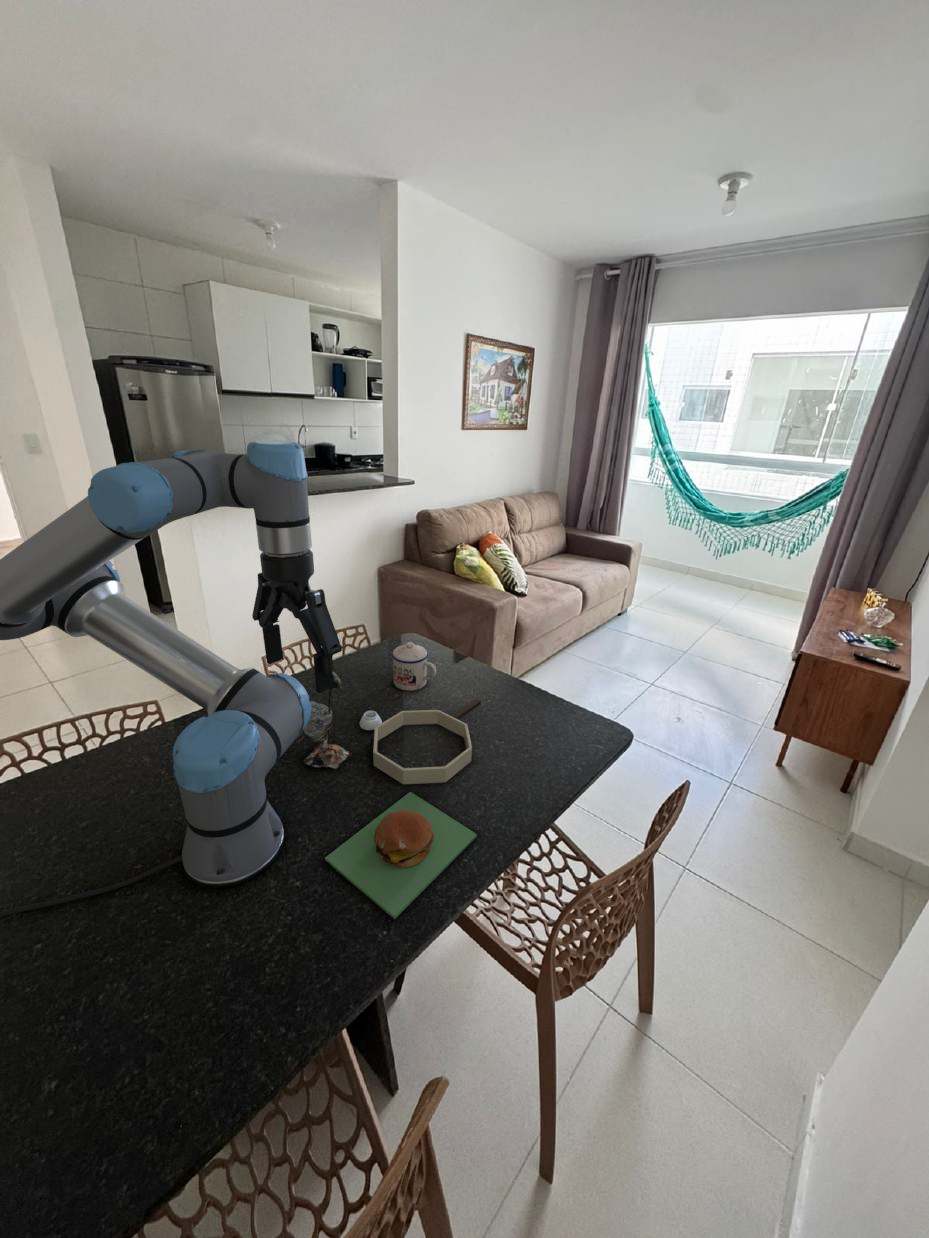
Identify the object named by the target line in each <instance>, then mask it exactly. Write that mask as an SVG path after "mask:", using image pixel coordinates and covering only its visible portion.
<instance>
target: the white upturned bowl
mask: <svg viewBox="0 0 929 1238" xmlns="http://www.w3.org/2000/svg"><path fill="white" fill-rule="evenodd" d="M381 723H383V720H382V719H381V717H380V715H379V714H378V712H377V711H375V710H366V711H365V712H364V713H363V715H362V717H361V719H360V720H359V727H360V728H361V729H362V730H365V731H375V727H376V726H378V725H380V724H381Z"/></svg>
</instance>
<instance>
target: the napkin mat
mask: <svg viewBox="0 0 929 1238" xmlns="http://www.w3.org/2000/svg"><path fill="white" fill-rule="evenodd" d="M398 810H410V811H414V812H417V813H419V814H421V815H423V816H424V817H425V818H426V819H427V820H428V821H429V823H430V825H431V829H432V831H433V835H434V839H433V840H434V841H433V843H432V847H431V849H430V852H429V854H428V855H427V856H426V858H425V859H424V860H423V861H422V862H420V863H419V864H418V865H416V866H413V867H410V868H401V867H399V866H398V865H395V864H389V863H386V862H384V861H383V860H382V857H381V854H380V853H377V852H376V844H375V842H374V835H375V831H376V828H377V827H378V825H379V823H380V822H381V820H382V819H383V818H384V817H385V816H386V815H388V814H389V813H391V812H394V811H398ZM477 837H478V835H477V833H476V832H474V831H473V830H471V829H470V828H468V827H466V826H465V825H463V824H462V823H460V822H458V821H457V820H455V819H454V818H452V817H451V816H449V815H448V814H446V813H445V812H443V811H442V810H440V809H438V808H437V807H435V806H434V805H432V804H431V803H429V802H428V801H426V800H424V799H423V798H422V797H420V796H418V795H417V794H415V793H414V792H412V791H409V792H408V793H406V794H405V795H404V796H403V797H401V798H400V799H399V800H398V801H396V802H394V803H393V804H392V805H391V806H389V807H388V808H387V809H386V810H384V811H383V812H381V813H380V814H378V816H377V817H375V818H374V819H373V820H371V821H370V822H369V823H368V824H366V825H365V826H364V827H362V828H361V829H360V830H359V831H357V832H356V833H355V834H353V835H352V836H351V837H350V838H348V839H346V840H345V841H344V842H343V843H342V844H340V845H339V846H338V847H337V848H336V849H334V850H333V851H331V852H330V853H329V854H327V856H325V857H324V861H325V862H326V863H328V864H329V865H330V866H331V867H332V868H333V869H335V870H336V871H337V872H338V873H339V874H340V875H342V876H343V877H344V878H345V879H346V880H347V881H349V882H350V883H351V884H352V885H354V887H356V888H357V889H358V890H359V891H361V892H362V894H364V895H365V897H367V898H369V899H370V900H371V901H372V902H374V904H376V906H378V907H379V908H380V909H381V910H383V911H384V912H385V913H386V914H387V915H389V916H390V917H391V918H392V919H394V920H396V919H397V918H398V917H399V916H400V915H401V914H402V913H403V912H404V911H405V910H406V909H407V908H408V907H409V906H410V905H411V904H412V903H413V902H414V901H415V900H416V899H417V898H418V897H419V896H420V895H421V894H422V893H423V892H424V891H425V890H426V889H427V888H428V887H429V885H431V884H432V883H433V882H434V880H435V879H436V878H438V876H440V875H441V873H443V872H444V871H445V870H446V868H448V867H449V866H450V864H452V863H453V862H454V860H456V858H457V857H458V856H460V855H461V854H462V853H463V852H464V851H465V849H466V848H468V846H469V845H470V844H472V842H473V841H475V839H477Z"/></svg>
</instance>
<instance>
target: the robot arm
mask: <svg viewBox="0 0 929 1238" xmlns="http://www.w3.org/2000/svg"><path fill="white" fill-rule="evenodd" d="M245 453H246V454H245ZM245 453H242V454H241V453H228V452H218V451H207V450H204V449H195V450H179V451H176V452H174V454H172V456H171V457H168V458H159V459H152V460H151V459H150V460H144V461H143V460H142V461H137V462H136V461H135V462H134V461H130V462H122V463H119V464H116V465H114V466H110V467H107V468H103V469H101V470H99V471H98V472H96V473H95V474H94V475H93V476H92V477H91V478H90V485H89V487H88V489H87V496H86V497H84V498H83V499H81V500H80V501H79V502H77V503H76V504H74V505H73V506H72V507H71V508H69V509H67V510H66V511H64V512H63V513H61V515H59V516H58V517H56V518H55V519H54V520H53V521H51V522H50V523H48V524H47V525H45V526H44V527H42V528H41V529H40V530H39V531H37V532H36V533H35V534H33V535H32V536H30V537H29V538H27V539H26V540H24V541H23V542H21V544H19V545H17V546H16V547H15V548H13V550H11V551H10V552H8V553H7V554H5V555H4V556H3V557H2V558H0V641H11V640H16V639H21V638H24V637H28V636H30V635H33V634H35V633H39V632H40V631H42V630H45V629H47V628H51V627H56V628H58V629H59V630H61V631H62V632H63V633H65V634H67V635H68V636H70V637H73V638H81V637H87V636H89V637H90V638H92V639H93V640H95V641H96V642H98V643H100V644H101V645H102V646H105V647H106V648H107V649H109V650H111V651H112V652H114V653H116V654H117V655H119V656H120V657H122V658H123V659H125V660H127V661H128V662H130V663H131V664H132V665H135V666H136V667H138V668H139V669H141V670H142V671H144V672H146V673H147V674H148V675H150V676H152V677H153V678H155V679H157V680H158V681H160V682H162V683H163V684H165V685H166V686H168V687H169V688H171V689H172V690H174V691H175V692H177V693H179V694H180V695H182V696H183V697H185V698H187V699H188V700H189V701H191V702H193V703H195V704H196V705H198V706H199V707H201V708H202V709H204V710H206V712H207V716H201V717H199V718H197V719H195V720H194V721H193V722H191V723H190V724H188V725H187V726H185V728H184V729H183V730H182V731H181V732H180V733H179V735H178V736H177V738H176V740H175V742H174V744H173V748H172V759H173V760H172V761H173V765H172V766H173V775H174V778H175V780H176V783H177V787H178V791H179V794H180V795H179V796H180V799H181V803H182V806H183V811H184V814H185V819H186V822H187V826H186V831H185V835H184V841H183V845H182V850H181V855H180V856H177V857H175V858H172V859H170V860H168V861H166V862H164V863H161V864H159V865H157V866H155V867H152V868H151V869H148V870H146V871H145V872H142V873H141V874H138V875H135V876H133V877H130V878H128V879H125V880H123V881H119V882H116V883H113V884H111V885H107V886H104V887H100V888H96V889H92V890H88V891H84V892H81V893H76V894H73V895H68V896H65V897H60V898H59V897H58V898H56V899H51V900H46V901H40V902H36V903H31V904H26V905H22V906H16V907H13V908H9V909H5V910H1V911H0V918H5V917H8V916H12V915H15V914H20V913H24V912H28V911H29V912H30V911H33V910H39V909H44V908H49V907H53V906H59V905H63V904H66V903H70V902H75V901H78V900H83V899H87V898H91V897H94V896H98V895H101V894H105V893H108V892H111V891H114V890H115V891H116V890H117V889H118V890H119V889H121V888H124V887H127V886H130V885H132V884H135V883H137V882H139V881H142V880H144V879H146V878H148V877H150V876H152V875H154V874H156V873H158V872H161V871H163V870H165V869H168V868H169V867H171V866H174V865H176V864H178V863H181V862H182V866H183V870H184V874H185V875H186V876H187V878H188V879H189V880H190V881H191V882H192V883H194V884H196V885H197V886H200V887H202V888H206V889H226V888H232V887H236V886H239V885H242V884H244V883H247V882H249V881H252V880H254V879H255V878H256V877H258V876H259V875H261V874H262V873H264V872H265V871H266V870H268V869H269V868H270V867H271V866H272V865H273V864H274V862H275V861H276V860H277V858H279V856H280V854H281V852H282V849H283V846H284V842H285V832H284V826H283V823H282V820H281V818H280V817H279V815H278V813H277V812H276V811H275V809H274V807H273V806H272V805H271V803H270V801H269V800H268V796H267V789H266V782H265V779H266V777H267V774H269V772H270V771H271V770H272V769H273V767H274V766H275V765H276V764H277V762H278V761H279V760H280V758H281V757H282V756H283V755H284V754H285V752H286V751H287V750H288V749H289V748H290V746H292V745H293V743H294V742H295V741H296V740H297V739H298V738H299V737H300V736H301V735H302V731H303V729H304V727H305V726H306V724H307V723H308V721H309V719H310V716H311V703H310V701H311V700H310V695H309V694H308V692H307V689H306V688H305V687H304V686H303V684H302V683H301V682H300V681H299V680H298V679H297V678H295V677H293V676H291V675H290V674H287V673H283V672H279V673H278V672H274V673H269V674H267V675H265V674H264V673H262V672H261V671H259V670H257V669H255V668H254V667H248V668H242V669H239V668H238V667H236V666H235V665H233V664H232V663H230V662H229V661H227V660H225V659H224V658H222V657H221V656H219V655H218V654H216V653H215V652H213V651H212V650H210V649H208V648H207V647H205V646H203V645H202V644H200V643H199V642H197V641H196V640H195V639H193V638H191V637H190V636H188V635H187V634H186V633H183V632H181V630H179V629H177V628H176V627H174V626H173V625H171V624H169V623H168V622H167V621H165V620H163V619H162V618H160V617H158V616H157V615H155V614H154V613H152V612H151V611H149V610H148V609H146V608H145V607H143V606H141V605H140V604H138V603H136V602H135V601H133V600H132V599H130V598H129V597H127V596H126V590H125V586H124V584H123V583H122V582H121V578H120V574H119V572H118V570H117V569H114V568H113V566H114V563H112V561H111V560H113V559H114V558H116V557H118V556H119V555H121V554H122V553H124V552H125V551H126V550H128V549H130V548H131V547H132V546H134V545H136V544H137V543H139V542H140V541H142V540H143V539H145V538H147V537H148V536H150V535H152V534H154V533H155V532H157V531H159V530H160V529H161V528H163V527H164V526H166V525H168V524H170V523H172V522H176V521H178V520H181V519H183V518H186V517H187V518H188V517H191V516H194V515H197V514H201V513H203V512H208V511H211V510H214V509H216V508H224V507H225V508H227V507H228V508H239V509H247V510H248V509H253V513H254V519H255V528H256V536H257V545H258V550H259V551H260V552H261V553H260V555H259V560H260V567H261V572H258V573H257V589H256V593H255V594H256V596H255V598H254V599H255V600H254V603H253V604H254V605H253V610H252V615H251V617H252V619H253V621H255V622H256V621H258V625H259V626H260V628H262V639H263V643H264V652H265V659H266V660H265V661H266V664H267V665H272V664H274V663H277V662H279V661H282V660H284V654H283V646H282V637H281V636H282V635H281V626H280V624H278V623H279V622H280V620H279V618H280V616H281V614H282V612H283V611H284V610H285V609H286V610H287V611H289V612H291V614H292V616H293V618H295V619H297V620H298V621H299V622H300V624H301V626H302V628H303V630H304V632H305V634H306V636H307V638H308V639H309V641H310V643H311V645H312V648H313V649H314V652H315V653H314V654H313V655H312V657H313V658H312V659H313V668H314V670H313V671H314V681H315V691H316V693H317V694H321V693H323V692H325V691H327V690H329V688H331V687H333V676H332V672H334V660H333V659H334V657H333V656H334V655H336V654H339V653H341V652H342V651H343V647H342V643H341V642H340V639H339V636H338V633H337V630H336V628H335V625H334V622H333V620H332V617H331V614H330V611H329V609H328V606H327V602H326V601H327V600H326V594H325V591H324V589H323V588H319V589H316V590H314V589H312V588H311V586H310V582H309V581H310V579H311V578H312V576H313V575H314V574H315V564H314V562H315V561H314V552H313V551H312V550H311V548H313V543H312V533H311V531H312V530H311V517H310V507H309V491H308V477H309V475H308V471H307V467H306V459H305V453H304V449H303V447H302V446H301V444H299V443H298V442H296V441H292V440H281V439H280V440H278V439H277V440H274V439H259V440H258V439H257V440H252V441H249V442H248V443H247V444H246V452H245Z"/></svg>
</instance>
